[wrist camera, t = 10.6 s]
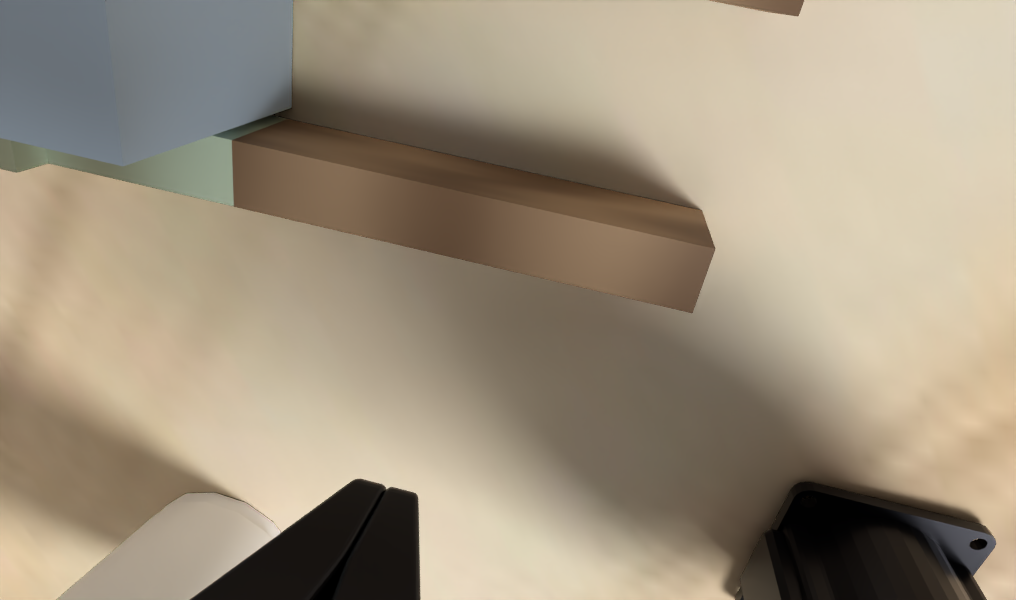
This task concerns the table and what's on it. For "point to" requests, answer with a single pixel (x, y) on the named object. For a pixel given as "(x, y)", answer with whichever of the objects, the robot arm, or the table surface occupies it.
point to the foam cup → (178, 551)
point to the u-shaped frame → (434, 202)
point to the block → (139, 72)
